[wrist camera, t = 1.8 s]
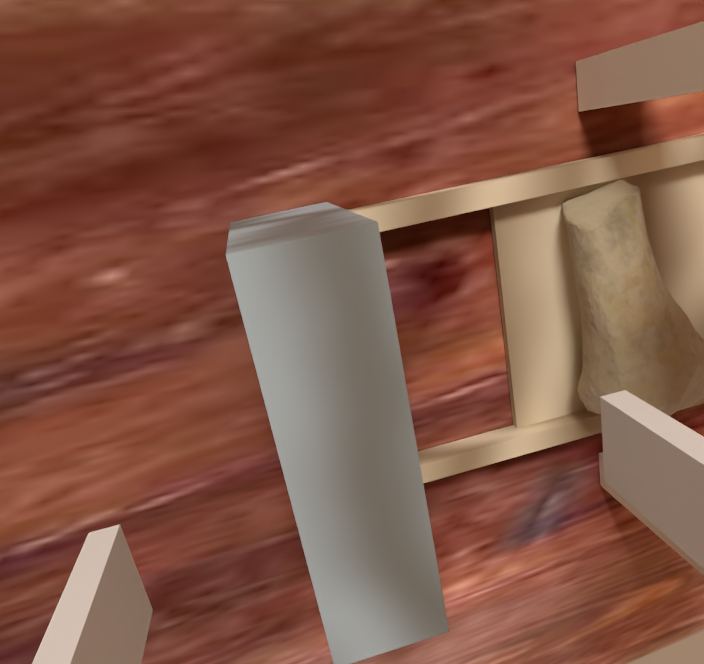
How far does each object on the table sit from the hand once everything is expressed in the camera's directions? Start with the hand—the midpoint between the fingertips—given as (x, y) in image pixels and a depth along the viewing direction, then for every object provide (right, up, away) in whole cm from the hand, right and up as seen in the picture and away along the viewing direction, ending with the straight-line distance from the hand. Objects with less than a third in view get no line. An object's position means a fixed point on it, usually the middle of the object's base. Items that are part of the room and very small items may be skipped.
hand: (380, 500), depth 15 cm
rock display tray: (+7, +5, +11) cm, 14 cm away
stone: (+11, +6, +12) cm, 18 cm away
